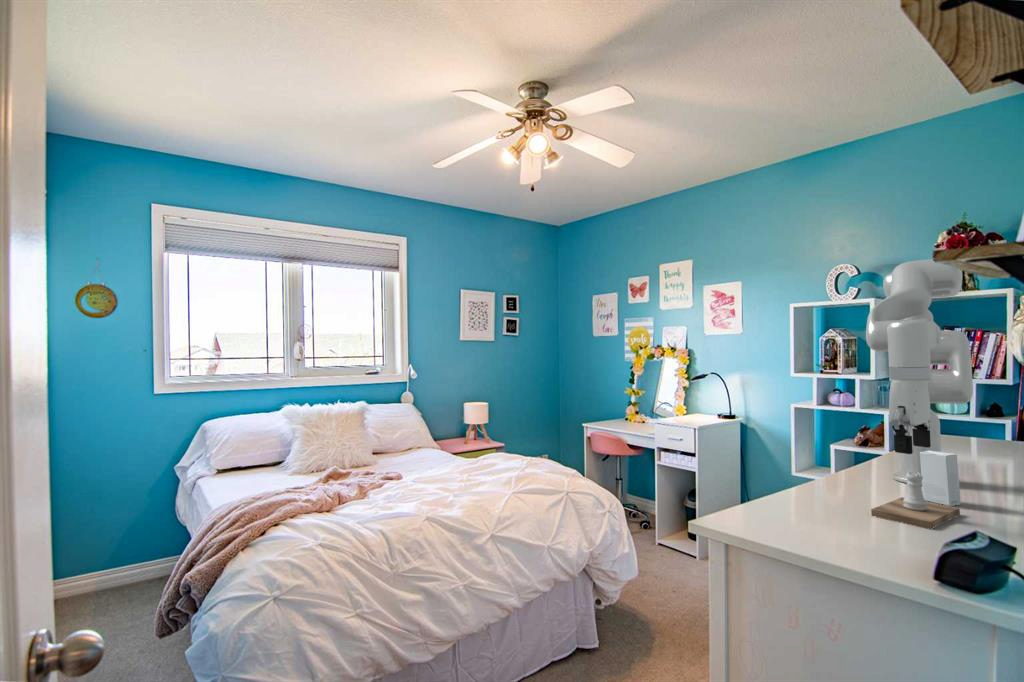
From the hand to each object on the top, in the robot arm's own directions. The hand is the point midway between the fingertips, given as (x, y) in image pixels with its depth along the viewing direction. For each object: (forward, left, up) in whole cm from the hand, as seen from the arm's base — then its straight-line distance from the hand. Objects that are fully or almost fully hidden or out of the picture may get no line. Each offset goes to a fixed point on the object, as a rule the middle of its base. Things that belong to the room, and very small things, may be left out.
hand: (912, 449), depth 117 cm
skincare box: (-15, 0, -15) cm, 21 cm away
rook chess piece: (+1, 0, -13) cm, 13 cm away
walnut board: (+1, 0, -15) cm, 15 cm away
